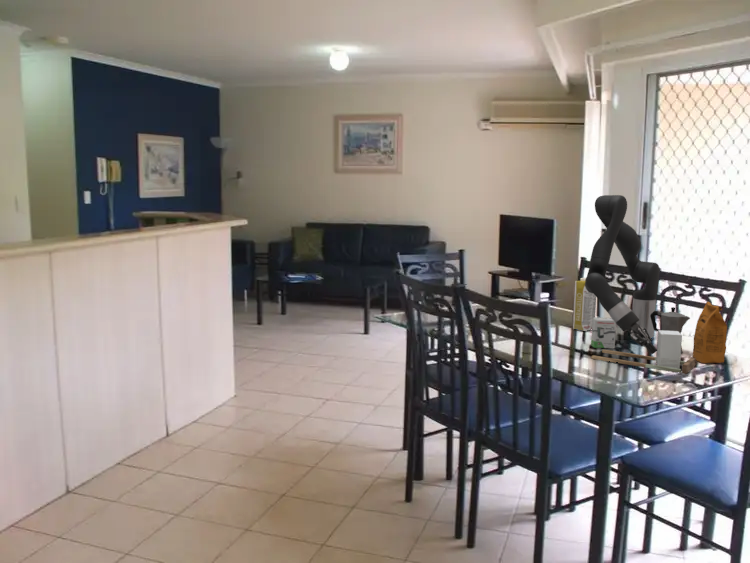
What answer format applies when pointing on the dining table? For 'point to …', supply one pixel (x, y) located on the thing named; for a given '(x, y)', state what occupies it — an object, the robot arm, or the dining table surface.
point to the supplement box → (668, 349)
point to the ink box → (603, 333)
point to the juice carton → (583, 307)
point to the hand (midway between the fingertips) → (654, 352)
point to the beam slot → (685, 365)
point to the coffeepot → (670, 321)
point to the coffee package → (710, 336)
